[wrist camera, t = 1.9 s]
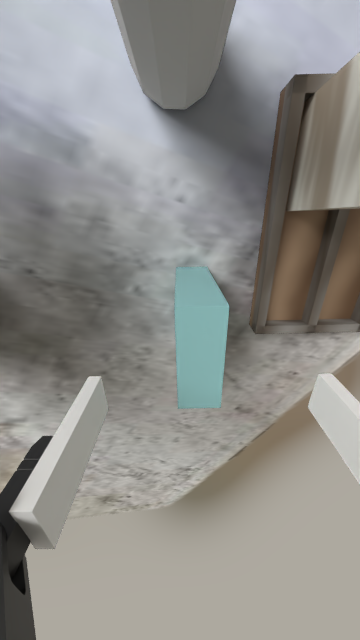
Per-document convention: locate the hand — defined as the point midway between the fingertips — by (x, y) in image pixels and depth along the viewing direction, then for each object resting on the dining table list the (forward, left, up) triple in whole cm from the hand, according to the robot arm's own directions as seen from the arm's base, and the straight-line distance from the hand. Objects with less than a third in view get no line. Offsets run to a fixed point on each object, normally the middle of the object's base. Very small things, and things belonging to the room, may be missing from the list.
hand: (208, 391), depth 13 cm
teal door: (0, 0, -15) cm, 15 cm away
